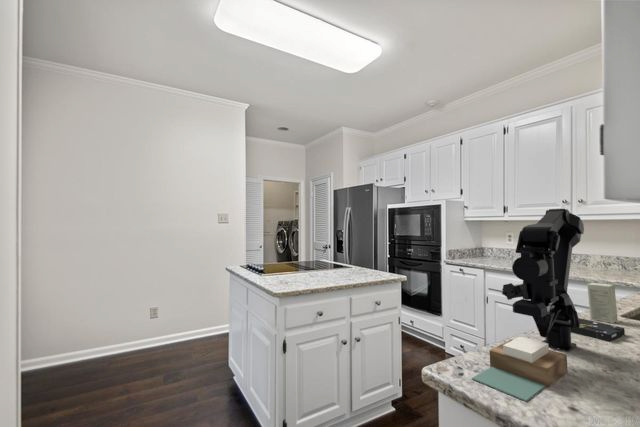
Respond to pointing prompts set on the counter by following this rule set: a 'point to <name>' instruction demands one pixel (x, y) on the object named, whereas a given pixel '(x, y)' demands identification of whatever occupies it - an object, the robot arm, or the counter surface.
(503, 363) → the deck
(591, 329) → the disk drive
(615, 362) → the counter surface
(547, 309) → the robot arm
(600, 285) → the skincare box
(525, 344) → the cream rectangular block
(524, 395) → the mat
